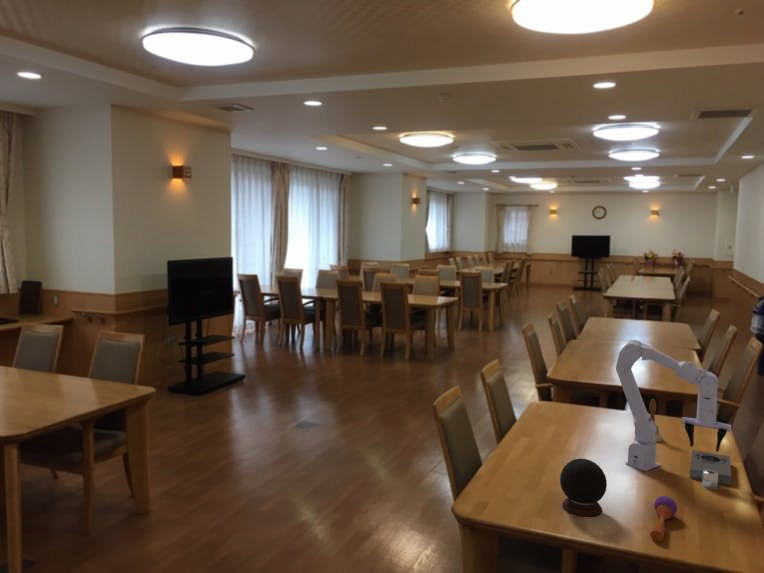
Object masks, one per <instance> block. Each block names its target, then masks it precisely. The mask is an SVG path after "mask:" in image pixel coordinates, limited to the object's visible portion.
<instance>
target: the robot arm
mask: <svg viewBox="0 0 764 573" xmlns="http://www.w3.org/2000/svg"><path fill="white" fill-rule="evenodd" d="M640 358H641V361H648V360H651V361H653V362H656V363H658V364H660V365H663V366H664V367H667V368H669V369H671V370H673V371H674V372H675V375H676V376H677V377H679V378H681V379H682V380H684V381H687V382H689V383H690V384H692V385H695V386H697V387H698V394H697V405H696V406H697V408H696V417H685V416H682V418H681V425H684V429H685V431H686V433H687V436H688V439H689V440H688V441H689V445H690V447H691V448H692V447H694V442H695V441H694V437H695V436H694V432H695V426H697V427H701V428H708V429H713V430H717V432H716V436H717V437H716V445H715V446H716V447H715V451H716V452H719V451H720V446H721V443H722V441H723V440H724V439H725V437H726V435H727V433H728V432H729V433H731V430H732V425H731V424H729V423H724V422H719V421H717V411H718V410H717V409H718V396H717V395H718V389H719V378H718V376H717V375H716V374H715V373H713V372H712V371H708V370H707V369H704V368H703V369H702V368H700V367H697V366H696V365H694V364H693V361H690V360H689V361H686V360H683V361H678V360H677V359H674V358H673V357H671V356H669V355H667V354H666V353H663V352H662V351H660V350H658V349H656V348H654V347H653V346H651V345H650V344H647V343H644V342H641V341H640V340H637V339H631V340H629V341H628V342H627V343H626V344H625V345H624V346H623V347H622V348H621V350H620V351H619V353H618V358H617V361H616V365H615V370H616V373H617V377H618V378H619V382H620V384H621V388H622V390H623V392H624V396H625V398H626V401H627V404H628V407H629V409H630V412H631V415H632V417H633V418H632V419H633V426H634V437H633V442H631V444H630V445H629V446H628V449H627V450H628V451H627V461H626V462H625V465H628V466H630V467H634V468H636V469H639V470H642V471H644V472H647V471H649V470H652V469H655V468H657V467H660V466H661V465H662V464H661V463H659V462H656V460H657V459H656V458H657V457H656V456H657V440H656V439H655V437H654V435H655V432H656V431H657V425H658V424H657V423H656V421H655V422H654V421H653V420H652V419H651V417H650V416H651V414H650V412H649V411H647V408H646V406H645V403H644V399H643V398H642V395H641V392H640V389H639V387H638V384H637V381H636V378H635V375H634V373H633V370H632V368H633V367H634V365H635V364H636V362H637V361H638V360H640Z"/></svg>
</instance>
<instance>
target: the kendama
mask: <svg viewBox="0 0 764 573" xmlns="http://www.w3.org/2000/svg"><path fill="white" fill-rule="evenodd" d="M653 503H654V505H653V506H654V510H655V512H656V515H657V516H658V517H659V518H658V520H657V522H656V524H655V525H654V527H653V529H652V531H651V532H650V538H651V540H653V541H655V542H659V543H661V542H663V541H664V539H665V520H670V518H672V517H675V515H676V514H677V511H678V506H677V502H676V501H675V500H674V499H673V498H671V497H670V496H667V495H661V496H658V497H656V499H655V500H654V502H653Z"/></svg>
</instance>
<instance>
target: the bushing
mask: <svg viewBox="0 0 764 573" xmlns="http://www.w3.org/2000/svg"><path fill="white" fill-rule="evenodd" d="M701 482H702V483H701V486H702V487H703V489H706V490H711V491H716V490H718V486H719V483H718V472H716V471H713V470H708V469H706V470H703V478H702V481H701Z"/></svg>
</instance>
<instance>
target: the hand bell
mask: <svg viewBox="0 0 764 573" xmlns="http://www.w3.org/2000/svg"><path fill="white" fill-rule="evenodd" d="M656 412H657V402H656V400H655V398H651V400H650V402H649V415H650V417H651V419H652V420H653V421H654V422H655V423H656V419H655V418H656V417H655V416H656ZM656 425H657V431H656V432H655V435H654V437H655V439H656V440H657V442H663V440H664V438H663V436H662V435H661V434H660V430H659V425H658V424H656ZM657 442H656V443H657Z"/></svg>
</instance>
